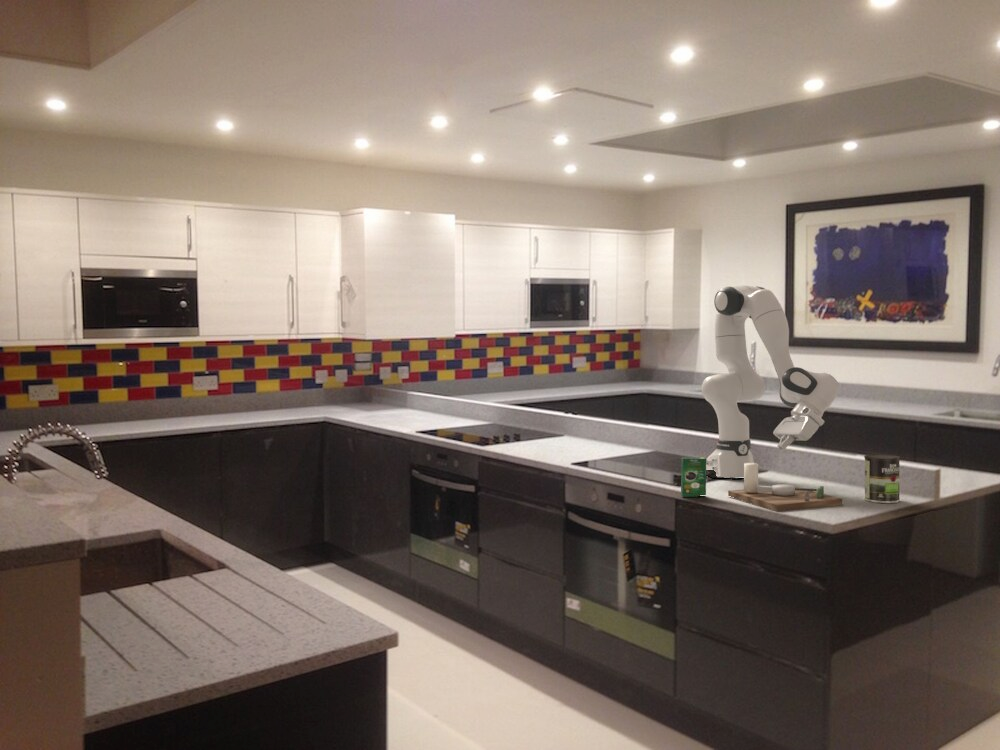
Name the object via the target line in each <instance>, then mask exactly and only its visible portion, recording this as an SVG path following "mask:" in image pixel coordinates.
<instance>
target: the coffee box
mask: <svg viewBox="0 0 1000 750" xmlns="http://www.w3.org/2000/svg"><path fill="white" fill-rule="evenodd" d="M706 460H707V458H705V457H681V461H680V462H681V464H680V467H681V469H680V470H681V471H680V472H681V473H680V497H682V498H699V497H698V496H700V495H706V496H707V476H706Z"/></svg>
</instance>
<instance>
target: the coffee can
mask: <svg viewBox="0 0 1000 750" xmlns="http://www.w3.org/2000/svg"><path fill="white" fill-rule="evenodd" d="M900 459H901V457H900V456H898V455H892V454H877V453H875V454H874V453H873V454H865V455H864V501H866V502H868V503H869V502H870V503H876V504H897V503H899V502H900Z"/></svg>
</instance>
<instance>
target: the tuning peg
mask: <svg viewBox="0 0 1000 750" xmlns="http://www.w3.org/2000/svg"><path fill="white" fill-rule="evenodd" d="M743 487H744V488H743V489H744V492H749V493H756V492H772V494H774V495H781V496H791V495H795V490H802V491H814V492H817V489H818V488H808V487H806V488H805V487H798V488H795V487H796V486H795V485H792V484H779V483H778V484H772V485H771V486H770V485H768V486H767V485H759V464H758V463H756V462H753V463H744V479H743Z"/></svg>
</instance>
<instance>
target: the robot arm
mask: <svg viewBox="0 0 1000 750" xmlns="http://www.w3.org/2000/svg"><path fill="white" fill-rule="evenodd" d="M714 308H715V310H716V311H717V313H716V315H715V322H714V341H715V344H714V345H715V355H716V356H715V357H716V359H717V360H718V361H719V362H721V363H722V364H724V365H725V367H726V368H727V370H728V373H716V374H712V375H709V376H707V377H705V379H703V381H702V384H701V394H702V396H703V398H704V399H705V401H706V402H708V403H709V404H710V405H711V406H712V408H713V409H714V411H715V414H716V417H717V422H718V439H716V440H715V444H716V446H715V448H716V449H715V450H714V451H713V452H712V453H711V454H710V455H709V456H708V457H707V458H706V470H714V471H715V472H716V476H717V477H724V478H730V477H744V463H754V456H753V455H754V454H753V453H752V452H751V448H752V447H751V445H752V443H751V439H750V420H749V418H748V417H747V415H745V414H744V413H742V412H741V410H740V409H739V407H738V403H750V402H753V401H757V400H759V399H761V398H762V397H763V396H764V394H765V393H766V392H765V391H766V383H765V380H764V378H763V377H762V376H761V375H760V374H759V373H758V372H757V371H755V369H754V367H753V366H752V364H751V362H750V360H749V356H748V350H747V340H746V338H747V337H746V329H745V327H746V325H745V323H746V321H747V319H748V318H749V319H751V321H752V323H753V326H754V329H755V330H756V332H757V334H758V337H759V339H761V342H762V343H763V345H764V347H765V349H766V351H767V352H768V354H769V357H770V359H771V361H772V364H773V366H774V370H775V372H776V374H777V378H778V380H779V398H780V400H781V402H782V403H783V404H784V405H786V406H787V407H790V408H793V409H792V410H791V411H790V416H788V417H785V418H784V419H783V420H781V422H780V423H779V424H778V425H777V426H776V427H775V429H774V430H773V432H772V434H773V436H775V437H776V438H778V440H779V443H778V444H777V448H778V449H780V450H786V449H787V448H788V446H790V445H791V444H792V443H793V442H794V441H801V442H803V441H805V442H806V441H809V440H810V439H811V438H812V437H813V435H814V434H815V433H816V432H817V431H818V429H819V427H821V426H823V425H824V424H825V420H824V419H823V418H822V417H823V415H824V413H825V411H826V410H828V409H829V407H830V406H831V405H832V404H833V402H835V400H836V398H837V397H838V394H839V392H840V385H839V382H838V380H836V378H835V377H834V376H832V375H831V374H829V373H827V372H821V373H819V372H812V371H809V370H806V369H804V368H802V367H795V366H794V362H793V360H792V357H791V355H790V349H789V348H790V346H789V342H790V328H789V322H788V318H787V316H786V313H785V310H784V309H783V306H782V305H781V303H780V302H779V300H778V298H777V297H776V295H775V293H774V292H773V291H771V290H770V289H767V288H764V287H763V286H752V285H739V286H725V287H722V288H720V289H718V290H717V291H716V294H715V295H714Z"/></svg>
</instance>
